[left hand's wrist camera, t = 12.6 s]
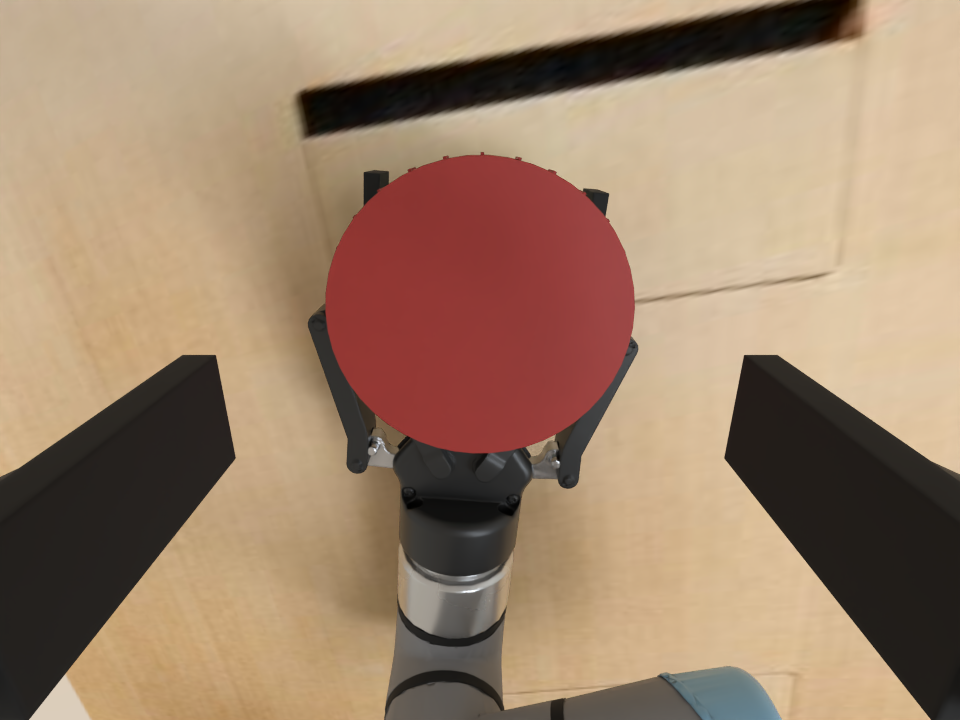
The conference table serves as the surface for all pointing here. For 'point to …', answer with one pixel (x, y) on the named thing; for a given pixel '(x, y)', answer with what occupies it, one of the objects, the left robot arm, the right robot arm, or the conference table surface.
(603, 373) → the lid
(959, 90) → the conference table surface
